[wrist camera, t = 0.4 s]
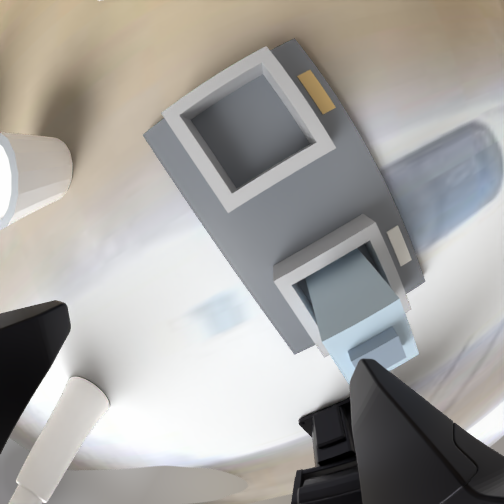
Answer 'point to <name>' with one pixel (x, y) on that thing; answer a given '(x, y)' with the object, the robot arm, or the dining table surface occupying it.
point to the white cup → (31, 174)
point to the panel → (283, 184)
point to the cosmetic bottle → (60, 441)
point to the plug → (359, 315)
